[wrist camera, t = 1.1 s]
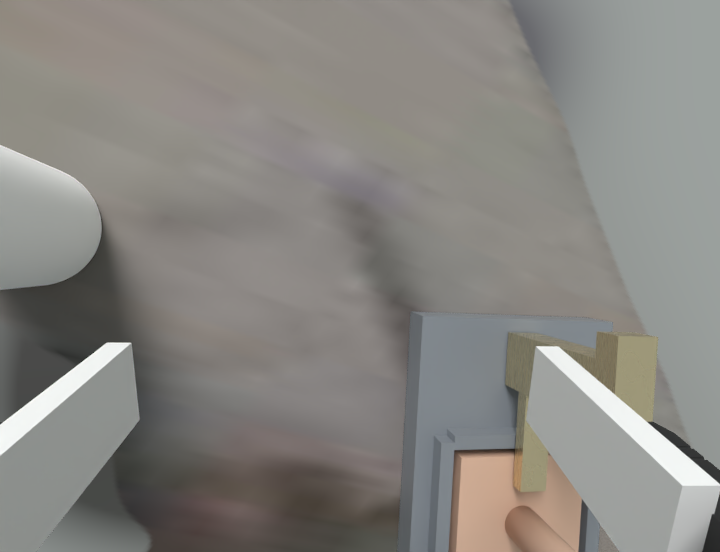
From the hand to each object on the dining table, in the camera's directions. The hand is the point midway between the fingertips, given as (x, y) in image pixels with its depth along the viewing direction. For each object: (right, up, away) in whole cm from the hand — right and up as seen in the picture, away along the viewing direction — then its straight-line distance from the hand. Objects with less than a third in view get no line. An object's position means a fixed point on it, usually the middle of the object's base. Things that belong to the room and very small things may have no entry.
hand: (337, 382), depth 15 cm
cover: (+12, -15, +20) cm, 28 cm away
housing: (+12, -11, +23) cm, 28 cm away
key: (+13, -6, +20) cm, 24 cm away
